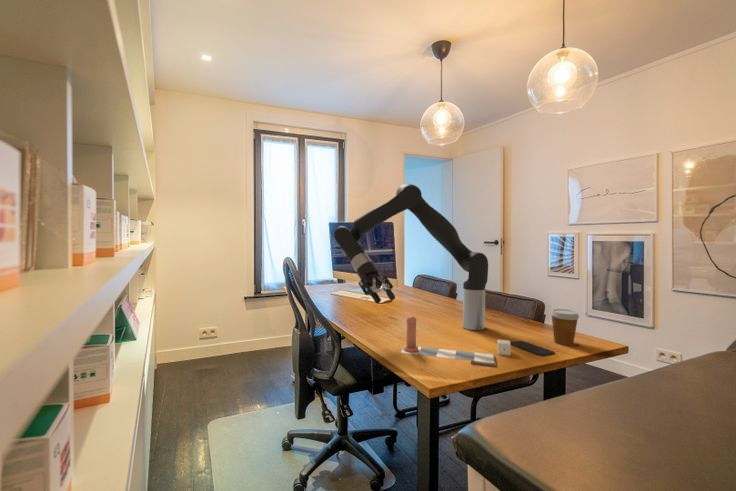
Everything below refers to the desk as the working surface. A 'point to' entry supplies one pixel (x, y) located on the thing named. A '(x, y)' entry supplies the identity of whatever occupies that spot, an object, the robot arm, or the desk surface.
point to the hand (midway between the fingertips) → (386, 300)
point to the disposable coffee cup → (564, 325)
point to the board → (457, 355)
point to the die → (503, 347)
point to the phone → (532, 348)
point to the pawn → (411, 335)
